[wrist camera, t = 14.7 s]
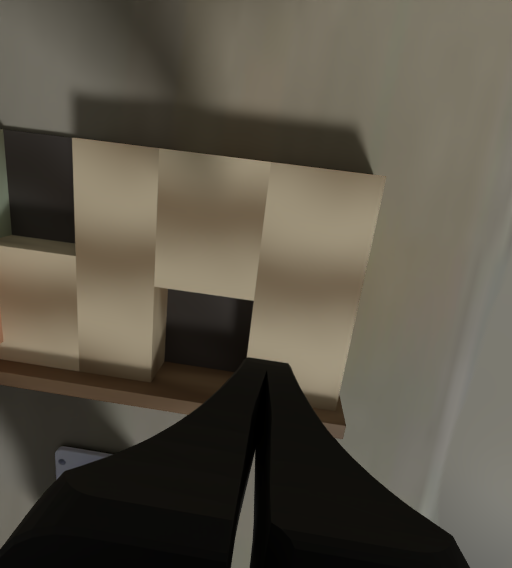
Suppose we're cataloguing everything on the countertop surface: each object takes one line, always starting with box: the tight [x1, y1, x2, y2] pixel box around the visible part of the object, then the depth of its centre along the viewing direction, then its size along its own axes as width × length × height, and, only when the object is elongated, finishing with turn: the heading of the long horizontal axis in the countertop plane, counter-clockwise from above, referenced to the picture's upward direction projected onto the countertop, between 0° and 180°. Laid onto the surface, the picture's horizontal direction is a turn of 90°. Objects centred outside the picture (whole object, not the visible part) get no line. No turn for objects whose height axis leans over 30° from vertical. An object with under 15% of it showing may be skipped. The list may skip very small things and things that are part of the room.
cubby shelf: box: [0, 129, 386, 439], centre depth 19 cm, size 14×25×4 cm, turn 83°
